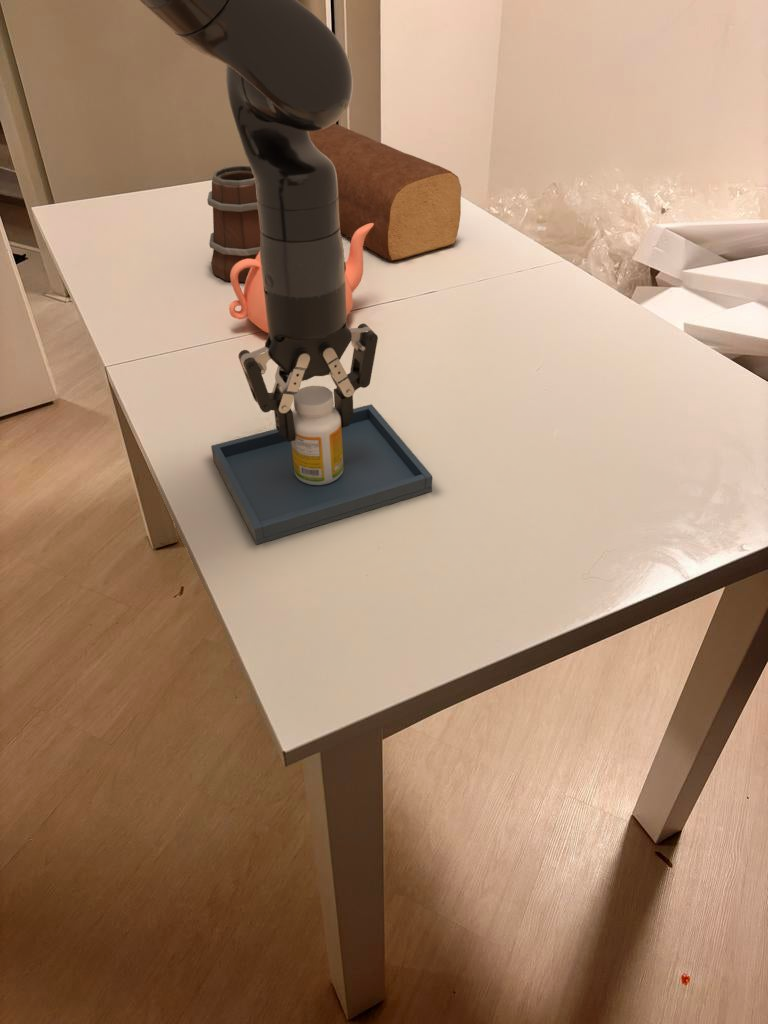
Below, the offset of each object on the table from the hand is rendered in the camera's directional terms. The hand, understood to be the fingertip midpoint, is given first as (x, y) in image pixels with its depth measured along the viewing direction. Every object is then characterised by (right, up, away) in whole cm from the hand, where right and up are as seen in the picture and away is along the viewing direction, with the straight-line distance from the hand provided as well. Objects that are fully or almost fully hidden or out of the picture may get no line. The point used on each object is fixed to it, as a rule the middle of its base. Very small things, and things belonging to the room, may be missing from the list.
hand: (315, 429), depth 84 cm
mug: (-16, +32, +48) cm, 60 cm away
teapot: (-4, +19, +33) cm, 38 cm away
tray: (0, -5, +4) cm, 6 cm away
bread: (+3, +44, +62) cm, 77 cm away
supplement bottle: (0, -4, +4) cm, 6 cm away
